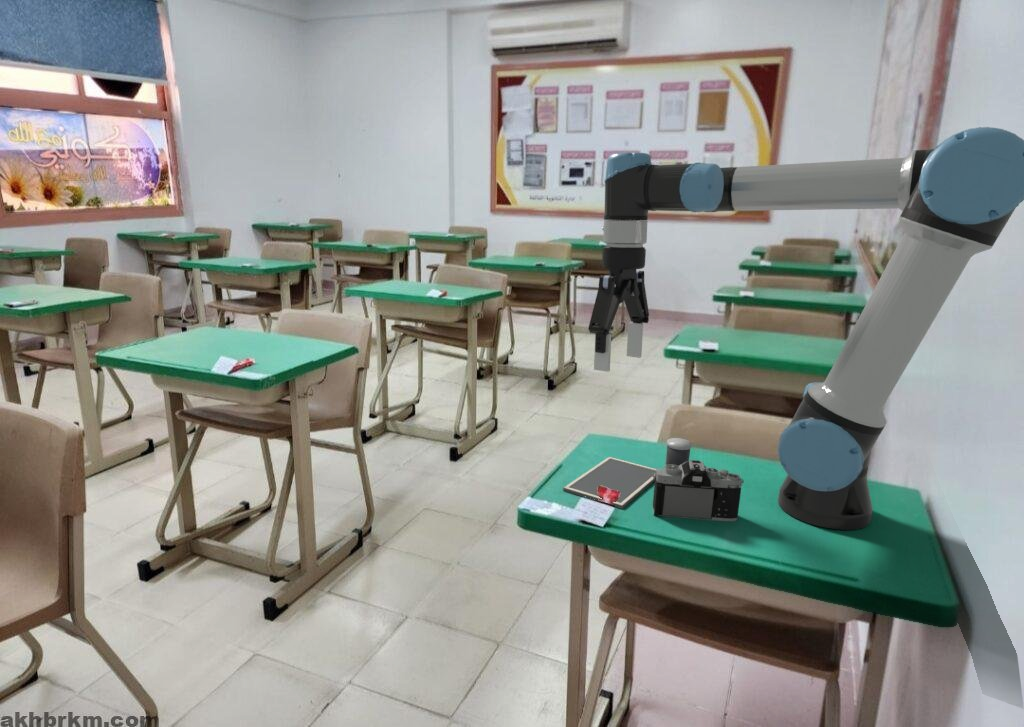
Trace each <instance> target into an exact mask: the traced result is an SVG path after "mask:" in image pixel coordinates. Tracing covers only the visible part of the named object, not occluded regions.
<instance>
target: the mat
mask: <svg viewBox="0 0 1024 727" xmlns="http://www.w3.org/2000/svg"><path fill="white" fill-rule="evenodd" d="M653 473H656V468H652V467H649V466H645V465H643V464H642V465H641V464H639V463H638V464H637V463H634V462H631V461H626V460H622V459H619V458H615V457H611V456H608V457H607V458H604V460H602V461H601V462H599V463H598V464H596V465H595V466H593V467H592V468H590V469H589V470H588V471H586V472H584V473H583V474H581V475H579V476H578V477H577V478H575V479H574V480H572V481H570V482H569V483H568V484H567V485H566V486H564V487H563V489H562V490H563V492H566V493H569V494H572V495H576V496H580V497H582V496H586V497H588V498H591V499H590V500H592V499H595V500H598V499H599V500H601V499H602V498H600V497H599V496H598V493H597V487H598V486H600V485H603V486H606V487H608V488H610V489H614V490H618V491H620V493H621V494H620V497H619V499H618V500H617V501H616V502H613V503H614V504H615V505H614V506H615V508H618V509H621V510H623V509H624V508H626V507H627V506H628V505H629V504H630V503H631V502H633V501H634V500H635V499H636V498H637V497H638V496H640V495H641V494H642V493H643V492H644V491H645V490H646V489H647V488H649V486H651V485H652V484H653V483H655V480H653V478H654V477H653V476H652V474H653ZM654 475H655V474H654ZM588 498H587V499H588ZM595 500H594V501H595ZM614 506H613V507H614Z"/></svg>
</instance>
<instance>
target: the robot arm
mask: <svg viewBox="0 0 1024 727" xmlns="http://www.w3.org/2000/svg"><path fill="white" fill-rule="evenodd" d="M651 158H652V157H651V155H650V154H649V153H645V152H617V153H613V154H610V155H609V157H608V158H607V161H606V170H605V178H604V216H603V226H602V227H601V229H602V231H603V239H602V241H603V243H604V244H606V245H605V246H603V248H602V254H601V255H602V256H601V257H602V258H601V265H602V267H603V268H604V269H608V271H609V272H608V275H603V274H601V275H599V279H598V290H597V293H596V297H595V301H594V304H593V308H592V312H591V317H590V319H589V324H588V331H589V333H591V334H595V336H594V356H593V357H594V358H593V359H594V360H593V361H594V362H593V370H594V371H599V372H606V373H609V372H610V371H611V355H612V354H611V353H612V352H611V351H612V350H611V349H612V334H611V333H610V331H611V328H612V325H613V323H614V320H615V317H616V315H617V312H618V309H619V307H620V304H621V303H623V302H624V304H625V307H626V310H627V313H628V316H629V319H630V321H629V322H627V323H628V324H627V341H626V342H627V343H626V357H631V358H637V359H640V358H642V353H643V352H642V351H643V333H644V324H648V323H649V320H650V317H649V316H650V313H649V306H648V305H649V304H648V299H647V292H646V284H645V271H644V270H641V269H644V268H645V266H646V256H647V255H646V254H647V249H646V247H644V245H645V244H647V240H648V223H649V222H648V217H649V216H648V215H649V212H656V211H658V212H659V211H661V212H662V211H663V212H691V213H718V212H736V211H737V212H743V211H744V212H745V211H746V212H750V211H751V212H753V211H756V212H757V211H803V210H804V211H807V210H809V211H811V210H813V211H814V210H818V211H819V210H875V209H876V210H879V209H881V210H883V209H891V210H893V209H899V210H901V214H900V216H899V222H900V225H901V227H902V230H903V235H902V237H901V239H900V240H899V242H898V244H897V246H896V248H895V249H894V252H893V254H892V256H891V257H890V259H889V261H888V263H887V265H886V266H885V269H884V270H883V272H882V273H881V276H880V278H879V280H878V281H877V283H876V286H875V287H874V289H873V291H872V293H871V295H870V296H869V298H868V300H867V302H866V304H865V306H864V308H863V309H862V311H861V313H860V315H859V317H858V318H857V321H856V322H855V324H854V326H853V328H852V330H851V332H850V334H849V336H848V337H847V339H846V341H845V343H844V345H843V346H842V349H841V351H840V352H839V354H838V356H837V358H836V360H835V361H834V364H833V365H832V367H831V369H830V371H829V372H828V375H827V376H826V379H825V380H824V381H823V382H820V381H819V382H811V383H808V384H807V385H805V388H804V391H803V392H804V393H803V394H802V398H803V399H802V401H801V402H800V404H799V406H798V408H797V410H796V412H795V414H794V415H793V418H792V419H791V421H790V423H789V424H788V425H787V427H786V428H784V429H783V431H782V432H781V434H780V437H779V440H778V446H777V453H778V454H777V456H778V460H779V462H780V464H781V466H782V469H783V470H784V471H785V473H786V474H787V475H786V476H785V479H784V481H783V482H782V483H781V486H780V488H779V490H778V498H777V504H778V505H779V507H780V508H781V509H782V510H783V511H784V512H785V513H787V515H790V516H792V517H793V518H795V519H797V520H800V521H801V522H805V523H807V524H810V525H814V526H818V527H820V528H825V529H830V530H831V529H832V530H842V531H843V530H844V531H847V530H848V531H852V530H853V531H854V530H859V529H862V528H865V527H867V526H869V525H870V523H871V520H872V515H873V504H872V499H871V494H870V489H869V482H868V478H867V477H868V471H869V466H870V459H871V453H872V449H873V448H874V445H875V444H876V442H877V440H878V439H879V436H881V433H882V432H883V430H884V428H885V427H886V426H887V424H888V422H887V419H886V416H885V413H884V411H883V409H884V406H885V404H886V403H887V400H889V397H890V395H892V393H893V391H894V389H895V387H896V386H897V384H898V382H899V381H900V379H901V377H902V375H903V373H904V372H905V370H906V369H907V367H908V366H909V363H910V362H911V360H912V359H913V357H914V355H915V353H916V352H917V350H918V349H919V346H920V345H921V343H922V341H923V340H924V338H925V336H926V334H928V332H929V330H930V327H931V326H932V325H933V323H934V321H935V320H936V318H937V316H938V314H939V312H940V311H941V309H942V307H943V305H944V304H945V302H946V301H947V299H948V297H949V295H950V294H951V293H952V290H953V289H954V287H955V285H956V283H957V282H958V280H959V279H960V276H961V275H962V274H963V271H964V270H965V268H966V266H967V265H968V263H969V261H970V260H971V258H972V257H973V256H975V255H977V254H980V253H982V252H984V251H985V252H986V251H988V250H990V249H992V248H993V246H994V245H995V243H996V242H997V240H998V238H999V237H1000V235H1001V233H1002V231H1003V230H1004V228H1005V227H1006V225H1007V223H1008V222H1009V220H1010V218H1011V216H1012V214H1014V211H1015V209H1016V208H1017V207H1019V205H1020V204H1022V202H1023V201H1024V139H1023V138H1021V137H1020V136H1018V135H1017V134H1016V133H1014V132H1011V131H1009V130H1006V129H1004V128H998V127H990V126H984V127H974V128H967V129H965V130H962V131H960V132H957V133H955V134H953V135H951V136H950V137H947V138H945V139H944V140H943V141H942V142H941V143H939V144H938V145H937V146H935V148H929V149H914V150H913V151H911V152H910V153H909V154H907V156H905V157H897V158H894V157H893V158H875V159H859V160H858V159H857V160H856V159H855V160H842V161H839V160H838V161H825V162H824V161H823V162H809V163H806V162H805V163H790V164H770V165H769V164H768V165H766V164H765V165H753V166H752V165H751V166H735V167H734V166H733V167H732V166H731V167H720V165H719V164H716V163H705V162H694V163H678V164H677V163H676V164H674V163H673V164H664V165H663V164H652V163H653V162H652V159H651Z"/></svg>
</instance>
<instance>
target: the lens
mask: <svg viewBox="0 0 1024 727" xmlns="http://www.w3.org/2000/svg"><path fill="white" fill-rule="evenodd" d="M692 445H693V444H692V442H691V440H688V439H685V438H680V437H672V438H668V439H667V440H666V456H665V457H666V458H665V463H664V467H665V466H666V465H669V464H673V465H677V466H679V465H681V464H683V463H685V462H687V461H690V458H691V456H690V455H691V449H692Z"/></svg>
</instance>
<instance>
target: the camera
mask: <svg viewBox="0 0 1024 727" xmlns="http://www.w3.org/2000/svg"><path fill="white" fill-rule="evenodd" d="M655 469H656V468H655ZM654 474H655V475H654ZM652 476H653V477H654V478H653V480H655V481H654V485H653V486H654V487H653V500H652V510H653V516H658V517H668V518H682V519H694V520H707V521H718V522H719V521H720V522H735V521H736V522H737V521H738V517H739V516H738V514H739V508H740V503H741V502H740V501H741V500H740V499H741V495H742V494H741V493H742V487H743V484H744V481H745V480H744V479H743V478H742V477H741V476H740V474H736V473H731V472H729V471H728V470H727V469H717V468H713V467H707V466H706V465H705V463H704V461H700V460H697V459H696V460H695V459H689V461H687V462H685V463H683V464H681V465H679V466H677V465H673V464H669V465H666V466H665V465H664V468H657V469H656V473H653V474H652Z"/></svg>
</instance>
